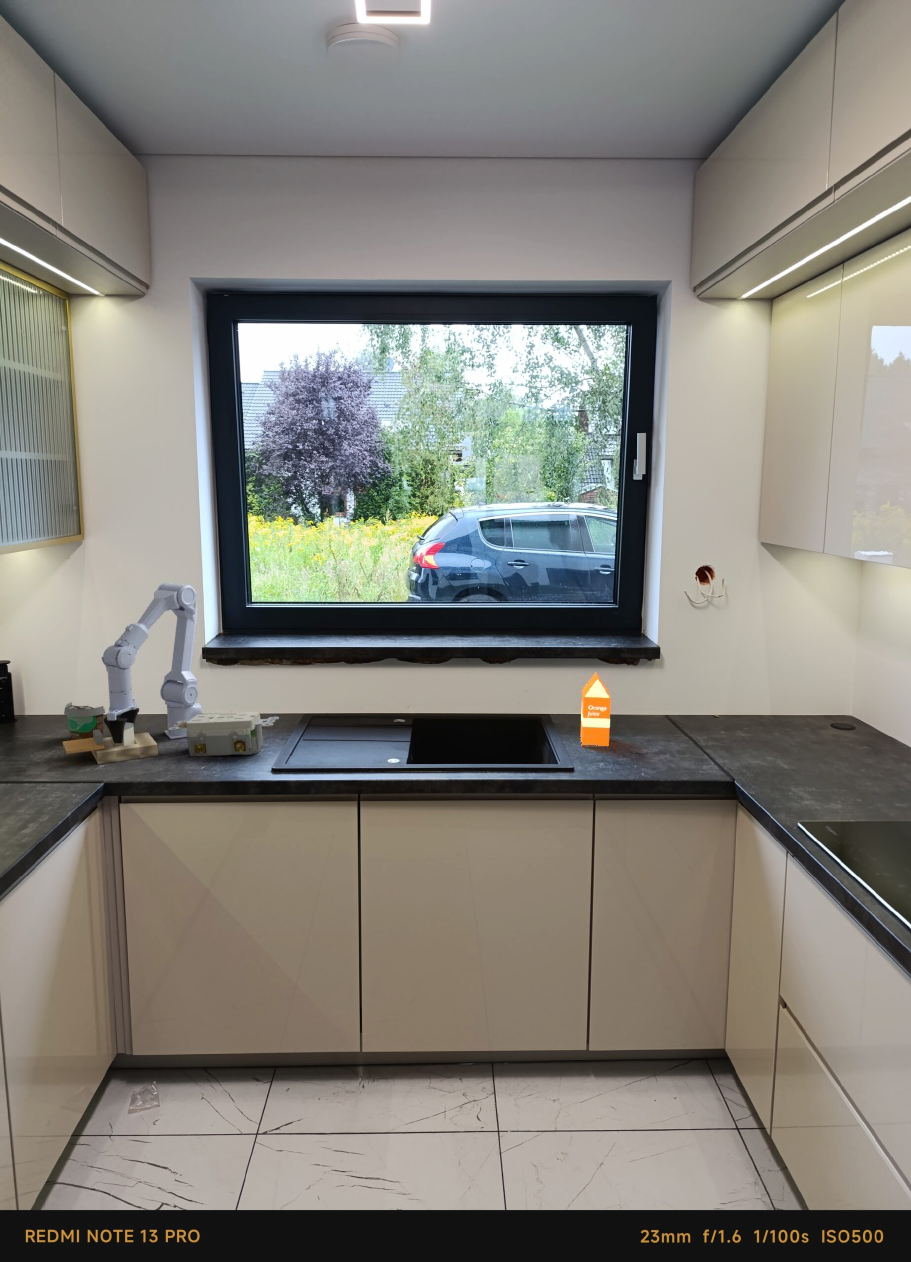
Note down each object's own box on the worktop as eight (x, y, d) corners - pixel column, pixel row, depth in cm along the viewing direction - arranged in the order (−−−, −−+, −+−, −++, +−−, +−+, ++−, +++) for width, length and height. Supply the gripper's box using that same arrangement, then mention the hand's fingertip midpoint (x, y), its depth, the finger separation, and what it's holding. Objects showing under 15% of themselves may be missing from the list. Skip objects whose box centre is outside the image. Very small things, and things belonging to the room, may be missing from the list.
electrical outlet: (272, 757, 224) (269, 721, 222) (168, 761, 226) (164, 725, 224) (283, 743, 235) (280, 709, 234) (184, 747, 237) (180, 713, 235)
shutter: (99, 739, 228) (98, 728, 228) (104, 748, 221) (103, 736, 220) (62, 744, 224) (62, 732, 223) (67, 753, 216) (66, 741, 216)
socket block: (148, 742, 237) (147, 732, 237) (157, 755, 226) (157, 744, 226) (90, 750, 230) (90, 739, 229) (98, 764, 219) (97, 753, 218)
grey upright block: (123, 749, 231) (121, 721, 229) (134, 751, 229) (133, 723, 228) (112, 754, 227) (110, 725, 225) (124, 756, 226) (122, 727, 224)
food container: (55, 741, 237) (53, 707, 235) (72, 735, 243) (69, 702, 241) (91, 746, 233) (89, 711, 232) (107, 740, 239) (104, 706, 237)
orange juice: (606, 738, 246) (609, 672, 242) (609, 748, 237) (612, 679, 234) (579, 737, 246) (582, 671, 243) (581, 747, 238) (583, 678, 234)
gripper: (125, 697, 218) (128, 747, 220) (145, 683, 232) (147, 731, 235) (97, 696, 218) (101, 747, 220) (119, 683, 232) (122, 731, 234)
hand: (123, 739), depth 227 cm, fingers open, 7 cm apart
